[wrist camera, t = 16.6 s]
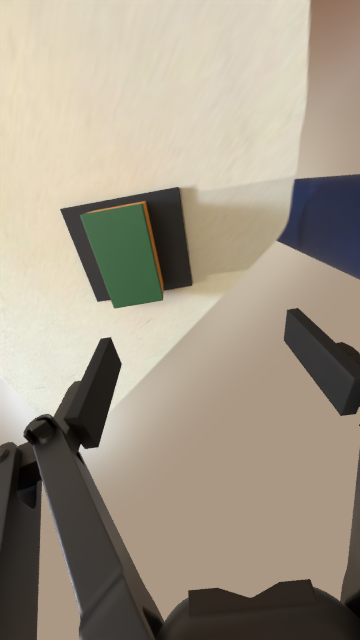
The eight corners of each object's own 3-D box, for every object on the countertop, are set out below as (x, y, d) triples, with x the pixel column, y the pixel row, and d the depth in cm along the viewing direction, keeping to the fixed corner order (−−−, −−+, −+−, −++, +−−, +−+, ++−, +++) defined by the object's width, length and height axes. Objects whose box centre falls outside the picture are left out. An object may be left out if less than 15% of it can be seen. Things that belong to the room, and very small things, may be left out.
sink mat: (177, 187, 29) (178, 187, 28) (191, 283, 36) (192, 285, 35) (62, 208, 29) (59, 209, 29) (98, 299, 37) (97, 301, 36)
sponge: (94, 210, 29) (79, 215, 24) (145, 200, 29) (141, 203, 24) (121, 291, 35) (114, 308, 30) (163, 284, 35) (163, 300, 30)
